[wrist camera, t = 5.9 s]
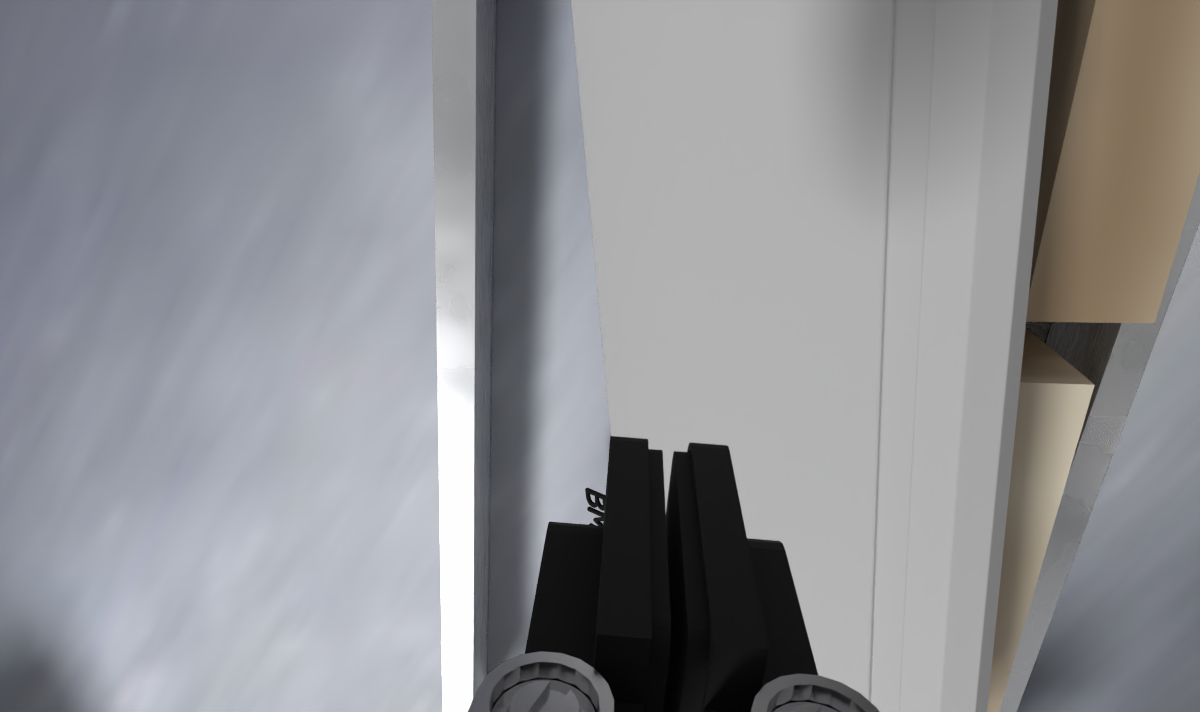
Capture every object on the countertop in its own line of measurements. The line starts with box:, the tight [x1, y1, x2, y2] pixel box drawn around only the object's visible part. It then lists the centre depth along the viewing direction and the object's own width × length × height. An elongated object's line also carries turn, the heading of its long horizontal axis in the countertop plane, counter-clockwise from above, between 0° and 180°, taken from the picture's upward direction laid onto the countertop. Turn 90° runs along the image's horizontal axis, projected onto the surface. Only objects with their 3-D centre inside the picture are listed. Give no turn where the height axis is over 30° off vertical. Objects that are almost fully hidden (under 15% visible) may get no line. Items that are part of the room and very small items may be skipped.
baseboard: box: [571, 0, 1058, 712], centre depth 20 cm, size 31×3×12 cm
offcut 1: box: [987, 327, 1095, 712], centre depth 24 cm, size 3×13×5 cm, turn 179°
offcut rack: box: [432, 0, 1200, 712], centre depth 20 cm, size 18×41×8 cm, turn 176°
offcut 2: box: [1026, 0, 1200, 323], centre depth 18 cm, size 3×13×5 cm, turn 0°
